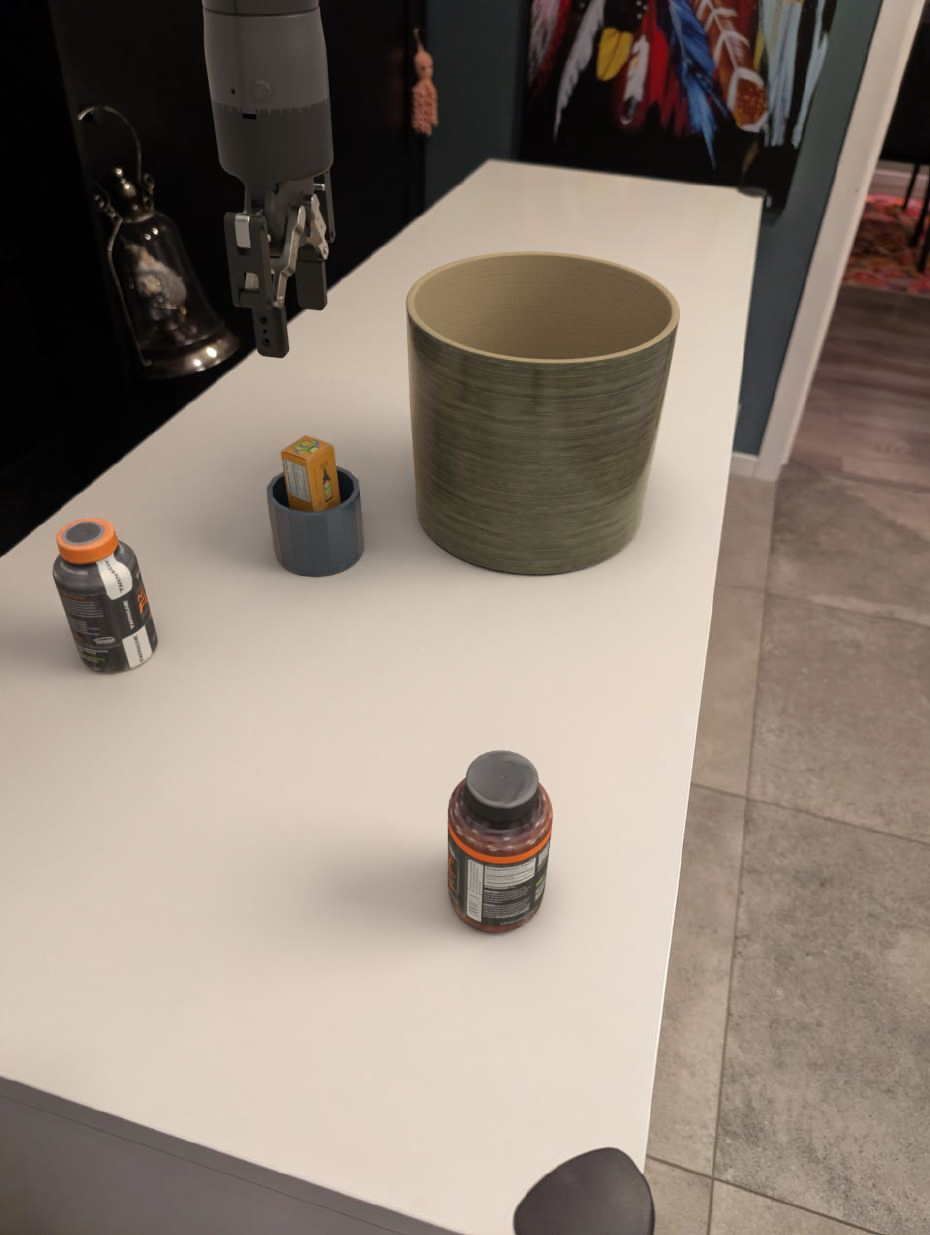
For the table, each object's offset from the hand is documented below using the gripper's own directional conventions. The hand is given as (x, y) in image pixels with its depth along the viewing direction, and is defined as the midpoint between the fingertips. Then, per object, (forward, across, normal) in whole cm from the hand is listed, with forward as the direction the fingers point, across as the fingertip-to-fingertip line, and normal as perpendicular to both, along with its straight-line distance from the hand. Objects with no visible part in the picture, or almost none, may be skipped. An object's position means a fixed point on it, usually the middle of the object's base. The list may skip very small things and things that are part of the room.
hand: (294, 330), depth 72 cm
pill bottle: (+21, +16, -11) cm, 28 cm away
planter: (+21, -11, +17) cm, 29 cm away
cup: (+21, 0, 0) cm, 21 cm away
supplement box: (+20, 0, 0) cm, 20 cm away
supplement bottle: (+21, +31, +22) cm, 43 cm away
